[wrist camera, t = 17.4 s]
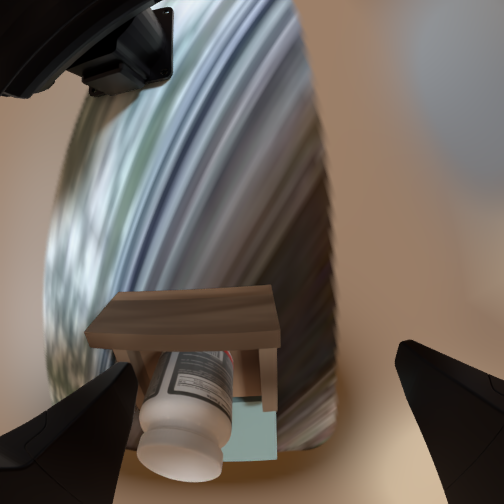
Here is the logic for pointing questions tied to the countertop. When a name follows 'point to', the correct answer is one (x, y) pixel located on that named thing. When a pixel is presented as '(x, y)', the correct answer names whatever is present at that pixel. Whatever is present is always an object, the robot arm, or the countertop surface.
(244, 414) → the pale green rectangular panel
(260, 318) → the wooden open crate
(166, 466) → the pill bottle
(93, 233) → the countertop surface
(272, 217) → the countertop surface
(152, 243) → the countertop surface
